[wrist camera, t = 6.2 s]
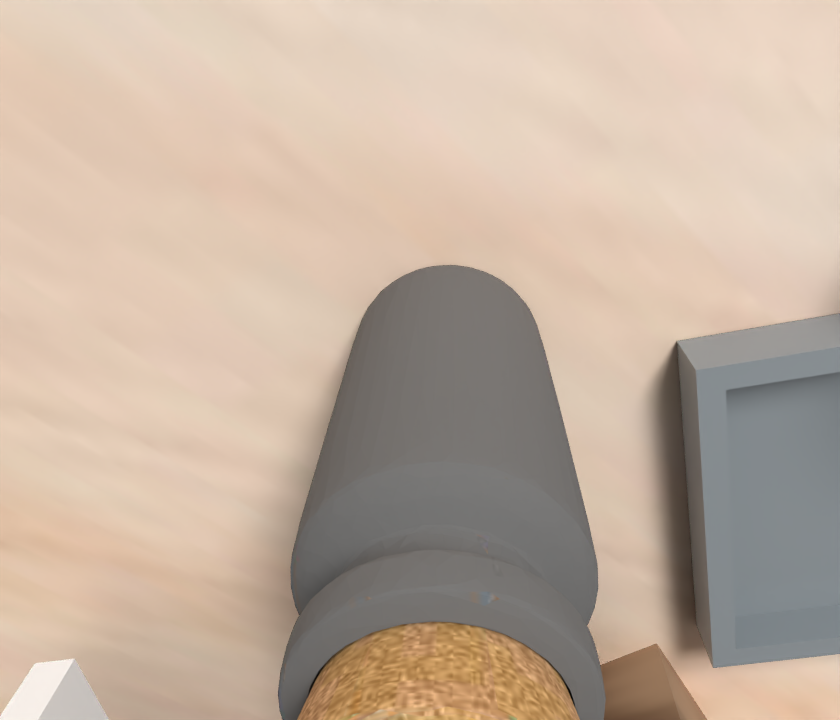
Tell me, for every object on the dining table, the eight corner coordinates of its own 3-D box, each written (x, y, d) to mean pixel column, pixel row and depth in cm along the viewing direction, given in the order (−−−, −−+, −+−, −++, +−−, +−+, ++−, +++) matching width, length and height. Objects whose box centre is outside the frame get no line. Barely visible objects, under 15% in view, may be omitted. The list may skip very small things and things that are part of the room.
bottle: (538, 428, 24) (642, 962, 11) (363, 431, 25) (250, 951, 11) (544, 259, 22) (690, 682, 8) (348, 264, 22) (179, 678, 9)
